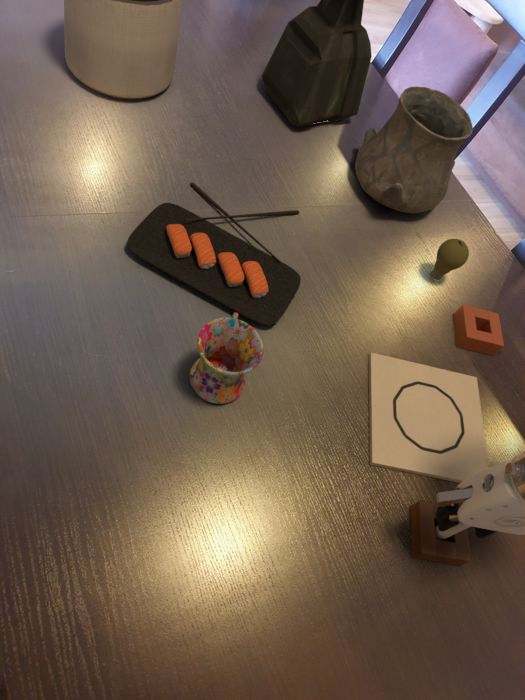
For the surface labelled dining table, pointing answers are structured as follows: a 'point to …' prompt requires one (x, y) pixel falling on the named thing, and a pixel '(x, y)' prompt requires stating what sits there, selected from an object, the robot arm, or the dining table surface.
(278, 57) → the bottle
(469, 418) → the board
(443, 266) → the light bulb
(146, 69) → the planter
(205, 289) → the sushi plate
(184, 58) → the dining table surface
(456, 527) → the marker
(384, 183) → the vessel
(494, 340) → the pen holder
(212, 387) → the mug
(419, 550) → the marker stand
